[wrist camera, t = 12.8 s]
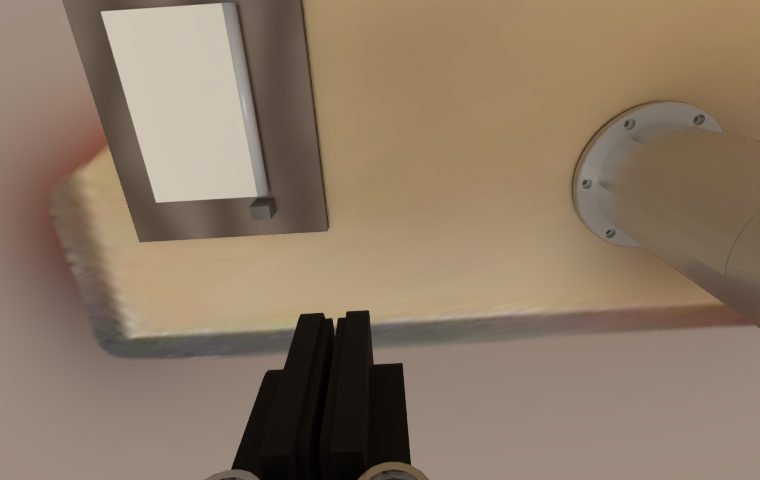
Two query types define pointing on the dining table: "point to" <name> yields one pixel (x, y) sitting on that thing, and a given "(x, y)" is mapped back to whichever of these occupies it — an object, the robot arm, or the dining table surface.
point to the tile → (189, 100)
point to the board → (273, 115)
